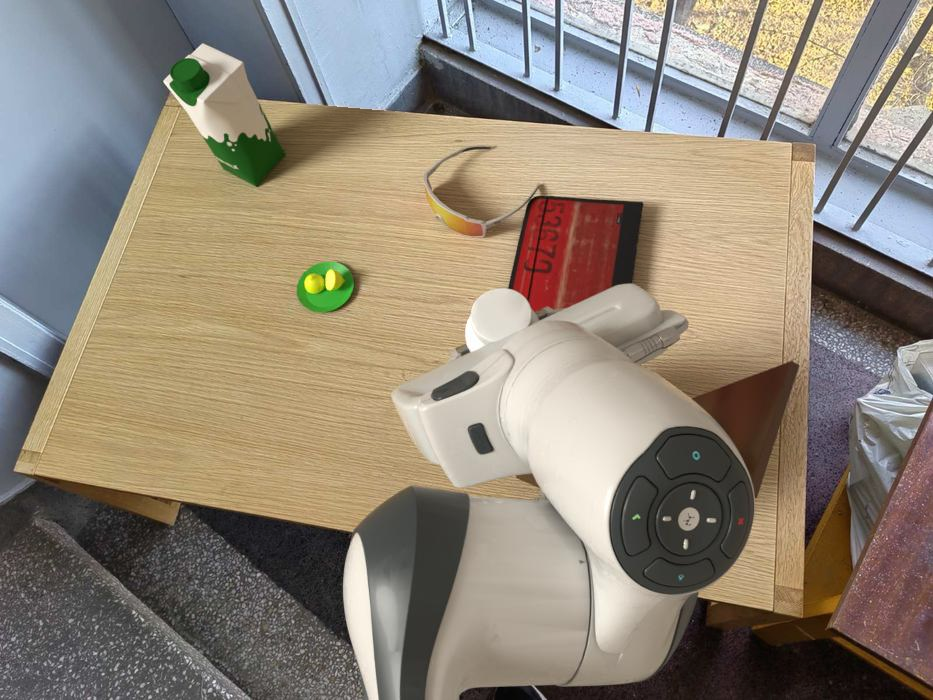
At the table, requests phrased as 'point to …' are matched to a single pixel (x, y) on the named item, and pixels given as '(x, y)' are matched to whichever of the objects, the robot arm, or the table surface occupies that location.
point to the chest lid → (752, 414)
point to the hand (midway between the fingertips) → (500, 336)
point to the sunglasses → (455, 219)
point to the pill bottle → (497, 317)
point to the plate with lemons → (325, 286)
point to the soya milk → (226, 112)
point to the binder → (574, 249)
